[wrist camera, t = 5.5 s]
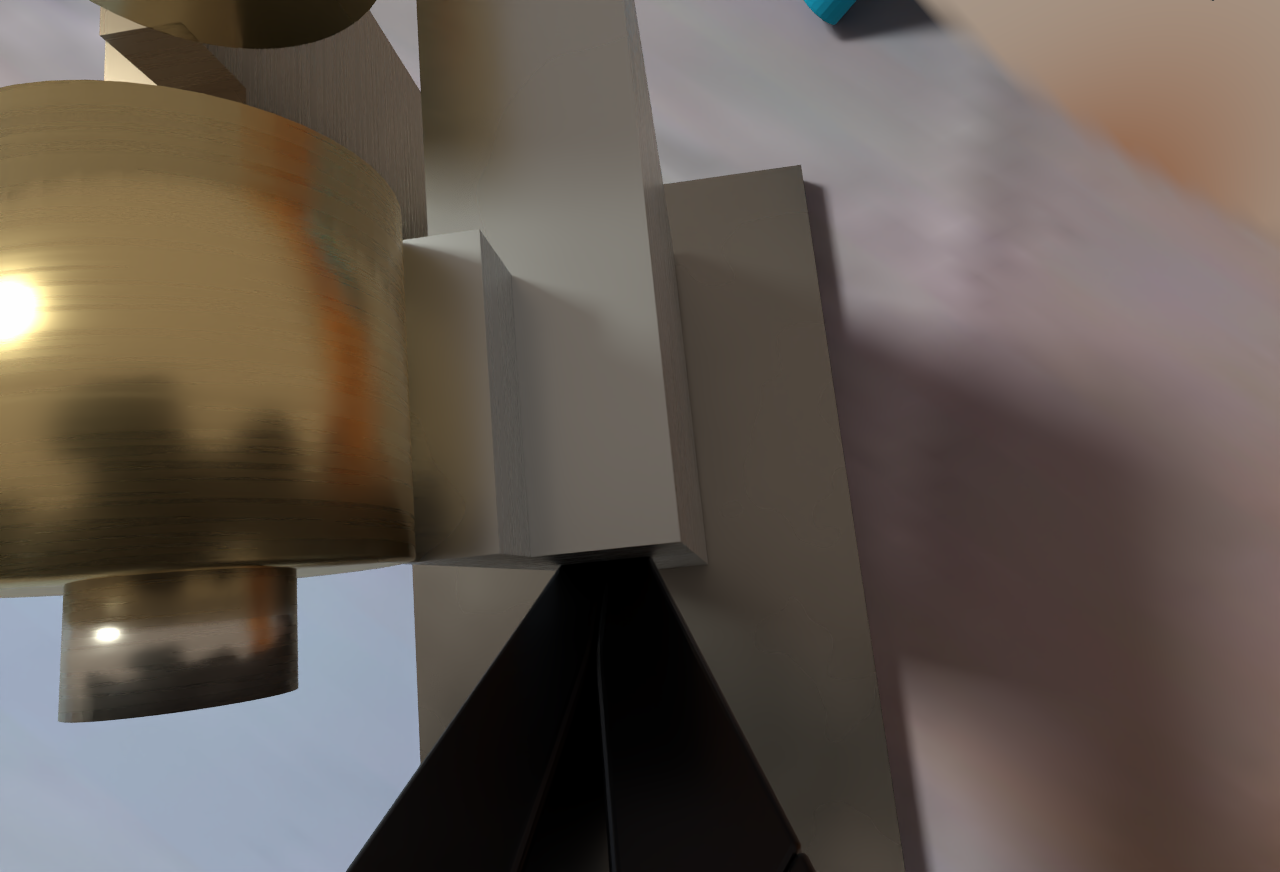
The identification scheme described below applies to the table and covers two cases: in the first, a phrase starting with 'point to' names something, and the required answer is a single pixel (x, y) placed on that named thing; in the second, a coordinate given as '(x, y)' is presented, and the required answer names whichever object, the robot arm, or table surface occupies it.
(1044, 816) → the table surface
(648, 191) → the brass-capped grey pillar
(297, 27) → the hinge base
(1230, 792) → the table surface
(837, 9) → the teal branched piece
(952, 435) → the table surface
